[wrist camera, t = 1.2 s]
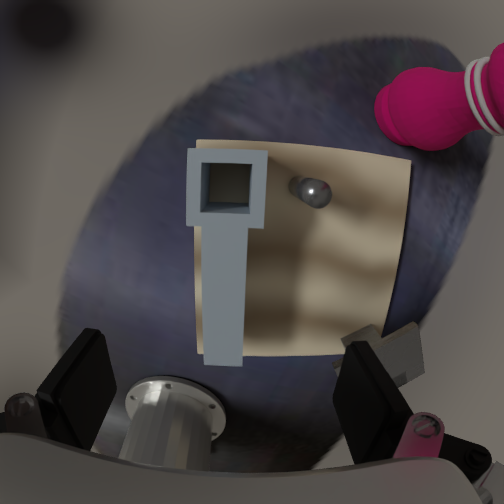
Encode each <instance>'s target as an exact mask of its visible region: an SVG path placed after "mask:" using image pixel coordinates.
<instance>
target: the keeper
mask: <svg viewBox="0 0 504 504" xmlns="http://www.w3.org/2000/svg"><path fill="white" fill-rule="evenodd" d="M340 339H341V342H342V344H343V347H344V350H346V347H347V345H350V344H351V342H352V341H367V342H368V343H369V345H370V346H371V348H372V349H373V351H374V352H375V354H376V355H377V357H378V359H379V360H380V362H381V363H382V365H383V366H384V368H385V369H386V371H387V372H388V373H389V375H390V376H391V378H392V380H393V381H394V383H395V384H396V386H397V388H399V387H400V386H402V385H404V384H406V383H407V382H409V381H411V380H413V379H415V378H416V377H418V376H420V375H422V374H423V373H424V372H425V371H424V362H423V354H422V347H421V340H420V333H419V327H418V325H417V324H416V323H415V322H414V321H413V322H411V323H409V324H407V325H406V326H404V327H402V328H400V329H398V330H397V331H395V332H393V333H391V334H389V335H387V336H386V337H384V338H381V337H380V335H379V334H378V333H377V331H376V330H375V329H374V327H373V326H372V325H371V324H369V325H367V326H365V327H363V328H361V329H359V330H357V331H355V332H353V333H351V334H349V335H347V336H345V337H342V338H340ZM343 358H344V357H343ZM343 358H341V359H339V360H337V361H335V362H332V364H333V367H334V369H335V371H336V374H337V376H339V372H340V369H341V365H342V361H343Z"/></svg>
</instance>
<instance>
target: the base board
mask: <svg viewBox="0 0 504 504" xmlns="http://www.w3.org/2000/svg"><path fill="white" fill-rule="evenodd" d="M196 148H215V149H247V150H267V151H268V158H267V177H266V195H265V213H264V229H261V228H248V240H247V262H246V285H245V308H244V332H243V356H308V355H332V354H345V350H344V347H343V344H342V342H341V339H340V338H342V337H345V336H347V335H349V334H351V333H353V332H355V331H357V330H359V329H361V328H363V327H365V326H367V325H369V324H371V325H372V326H373V327H374V329H375V330H376V331H377V333H378V334H379V335H380V337H381V335H382V331H383V327H384V324H385V320H386V316H387V312H388V308H389V304H390V299H391V295H392V291H393V286H394V281H395V277H396V272H397V267H398V261H399V256H400V250H401V244H402V238H403V232H404V225H405V218H406V210H407V201H408V192H409V182H410V169H411V160H406V159H400V158H395V157H390V156H384V155H378V154H372V153H366V152H359V151H352V150H345V149H337V148H329V147H320V146H311V145H301V144H289V143H276V142H261V141H240V140H197V141H196ZM295 176H304V177H309V178H313V179H318V180H322V181H325V182H326V183H327V184H328V185H329V186H330V187H331V190H332V199H331V201H330V203H329V204H328V205H327V206H325V207H324V208H320V209H316V208H313V207H311V206H309V205H308V204H306V203H304V202H303V201H301V200H300V199H298V198H296V197H295V196H293V195H292V194H291V193H290V191H289V188H288V185H289V182H290V180H291V179H292V178H293V177H295ZM249 177H250V164H236V163H210V187H209V202H233V203H248V198H249ZM194 260H195V305H196V330H197V350H198V354H204V351H203V324H202V277H201V226H194Z"/></svg>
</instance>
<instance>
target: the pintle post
mask: <svg viewBox="0 0 504 504" xmlns="http://www.w3.org/2000/svg"><path fill="white" fill-rule="evenodd" d="M288 188H289V191H290V193H291V194H292V195H293V196H295V197H296V198H298V199H300V200H301V201H303V202H304V203H306V204H308V205H309V206H311V207H313V208H316V209H320V208H324V207H325V206H327V205H328V204H329V203H330V201H331V199H332V190H331V187H330V186H329V185H328V184H327V183H326V182H325V181H322V180H318V179H313V178H309V177H304V176H295V177H293V178H292V179H291V180H290V182H289V185H288Z"/></svg>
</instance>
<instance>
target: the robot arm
mask: <svg viewBox="0 0 504 504" xmlns="http://www.w3.org/2000/svg"><path fill="white" fill-rule="evenodd" d="M116 390H117V386H116V381H115V378H114V374H113V370H112V366H111V362H110V358H109V353H108V349H107V345H106V340H105V336H104V334H101V332H100V330H97V329H91V328H85V329H84V330H83V331H82V333H81V334H80V335H79V336H78V337H77V339H76V340H75V341H74V342H73V344H72V345H71V346H70V347H69V349H68V350H67V351H66V352H65V354H64V355H63V356H62V358H61V359H60V360H59V361H58V363H57V364H56V365H55V367H54V368H53V369H52V371H51V372H50V373H49V375H48V376H47V377H46V379H45V380H44V381H43V382H42V384H41V385H40V387H39V388H38V389H37V394H36V395H35V396H33V395H32V394H30V393H25V392H23V393H17V394H14V395H13V396H11V397H10V398H9V399H8V400H7V401H6V403H5V406H4V412H2V413H0V504H504V465H502V464H501V463H499V462H497V461H496V462H495V463H492V457H491V454H490V452H489V451H488V450H487V449H486V448H485V447H483V446H481V445H479V444H475V443H472V442H469V441H466V440H463V439H460V438H457V437H454V436H451V435H448V434H445V433H444V424H443V422H442V421H441V420H440V418H438V417H437V416H436V415H433V414H431V413H427V412H420V413H416V414H413V412H412V410H411V409H410V407H409V406H408V404H407V402H406V400H405V399H404V397H403V396H402V394H401V392H400V391H399V389H398V388H397V386H396V384H395V383H394V381H393V380H392V378H391V376H390V375H389V373H388V372H387V371H386V369H385V368H384V366H383V365H382V363H381V362H380V360H379V359H378V357H377V355H376V354H375V352H374V351H373V349H372V348H371V346H370V345H369V343H368V342H367V341H352V342H351V344H350V345H347V347H346V350H345V354H344V358H343V361H342V365H341V369H340V372H339V376H338V380H337V383H336V387H335V390H334V393H333V404H334V407H335V410H336V413H337V415H338V418H339V421H340V424H341V427H342V430H343V432H344V435H345V438H346V441H347V444H348V446H349V449H350V453H351V456H352V459H353V461H354V464H355V465H349V466H343V467H335V468H326V469H319V470H308V471H296V472H278V473H225V472H209V465H210V452H211V441H212V440H214V439H215V438H217V437H218V436H219V435H220V434H221V433H222V432H223V430H224V428H225V424H226V412H225V409H224V406H223V405H222V403H221V402H220V400H219V399H218V398H217V397H216V396H215V395H214V394H213V393H211V392H210V391H209V390H207V389H206V388H204V387H202V386H200V385H199V384H196V383H194V382H191V381H189V380H185V379H182V378H178V377H171V376H154V377H148V378H145V379H142V380H140V381H138V382H137V383H135V384H134V385H133V386H132V387H131V388H130V390H129V392H128V394H127V397H126V401H125V403H126V410H127V413H128V415H129V417H130V418H131V423H130V426H129V429H128V432H127V435H126V437H125V440H124V443H123V446H122V449H121V452H120V455H119V458H115V457H110V456H106V455H102V454H98V453H94V452H91V451H90V450H91V448H92V446H93V443H94V441H95V439H96V436H97V434H98V432H99V429H100V427H101V425H102V423H103V420H104V418H105V416H106V414H107V411H108V409H109V407H110V405H111V403H112V400H113V398H114V396H115V394H116Z"/></svg>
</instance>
